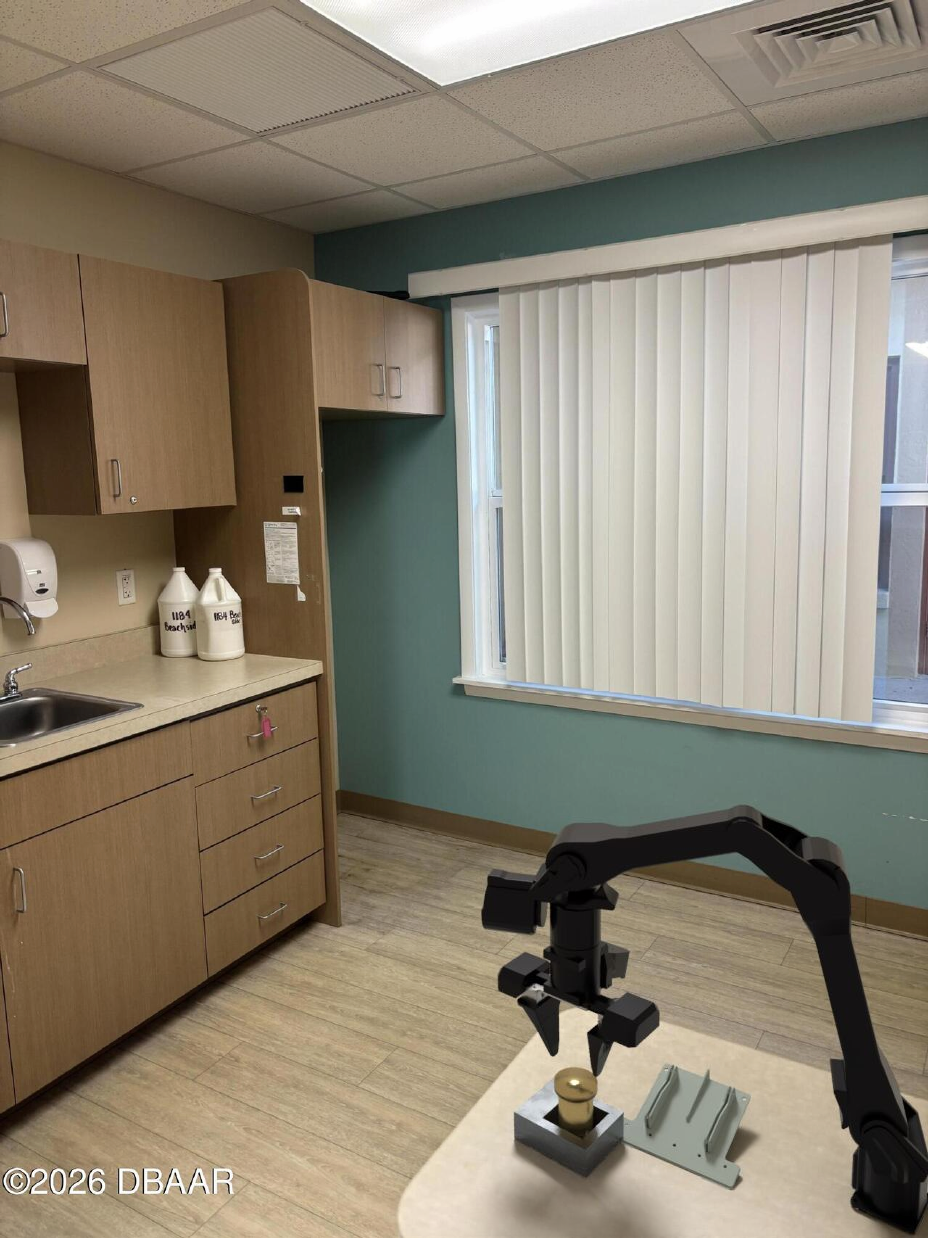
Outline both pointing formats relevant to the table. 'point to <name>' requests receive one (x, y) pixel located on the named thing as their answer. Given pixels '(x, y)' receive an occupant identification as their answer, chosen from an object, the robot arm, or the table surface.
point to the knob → (576, 1100)
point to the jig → (544, 1135)
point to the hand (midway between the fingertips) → (575, 1064)
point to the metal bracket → (689, 1124)
